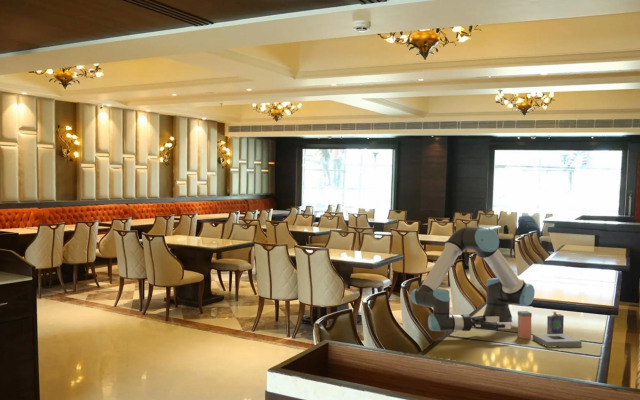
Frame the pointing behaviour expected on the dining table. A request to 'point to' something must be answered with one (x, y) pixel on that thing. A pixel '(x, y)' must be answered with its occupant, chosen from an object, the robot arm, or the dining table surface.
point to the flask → (555, 324)
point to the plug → (524, 324)
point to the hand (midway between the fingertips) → (504, 322)
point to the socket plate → (557, 340)
